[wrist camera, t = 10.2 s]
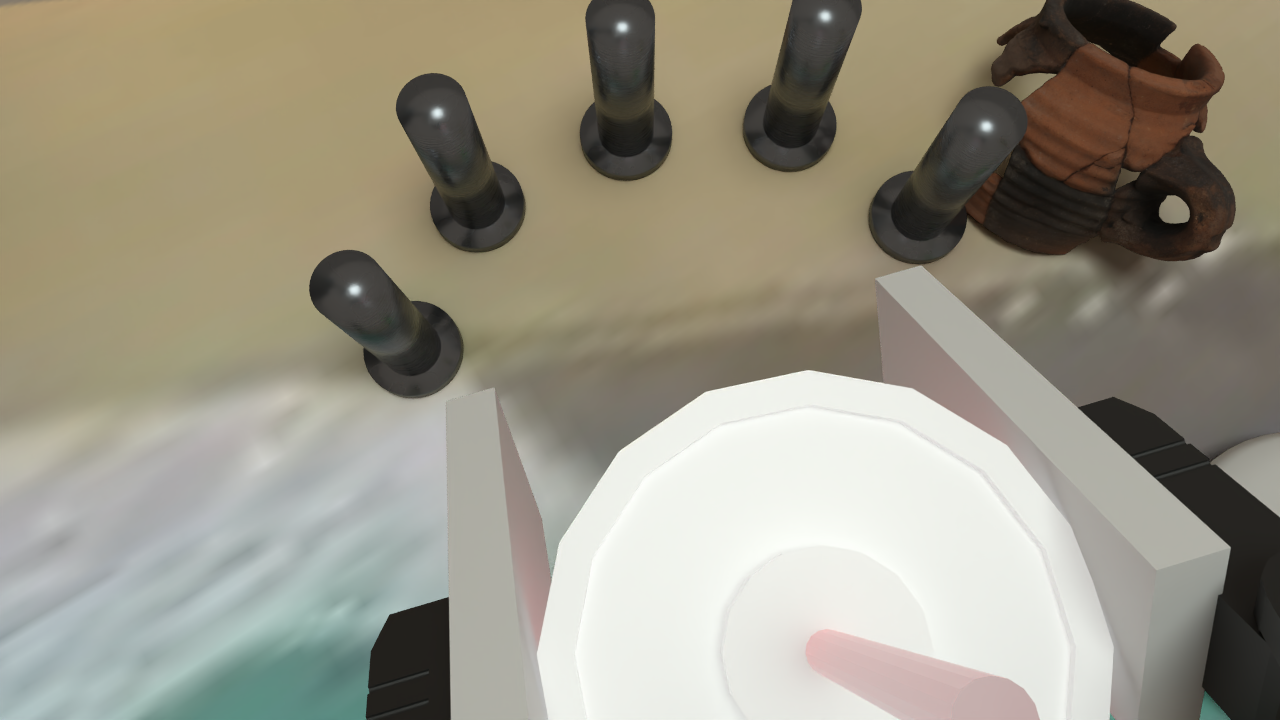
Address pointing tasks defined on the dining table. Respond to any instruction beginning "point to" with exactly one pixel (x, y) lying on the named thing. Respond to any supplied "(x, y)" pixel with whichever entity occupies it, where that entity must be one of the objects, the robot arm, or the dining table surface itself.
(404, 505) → the dining table surface
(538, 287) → the dining table surface
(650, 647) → the beverage cup
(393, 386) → the posts
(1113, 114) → the pottery mug
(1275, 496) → the flower in vase
